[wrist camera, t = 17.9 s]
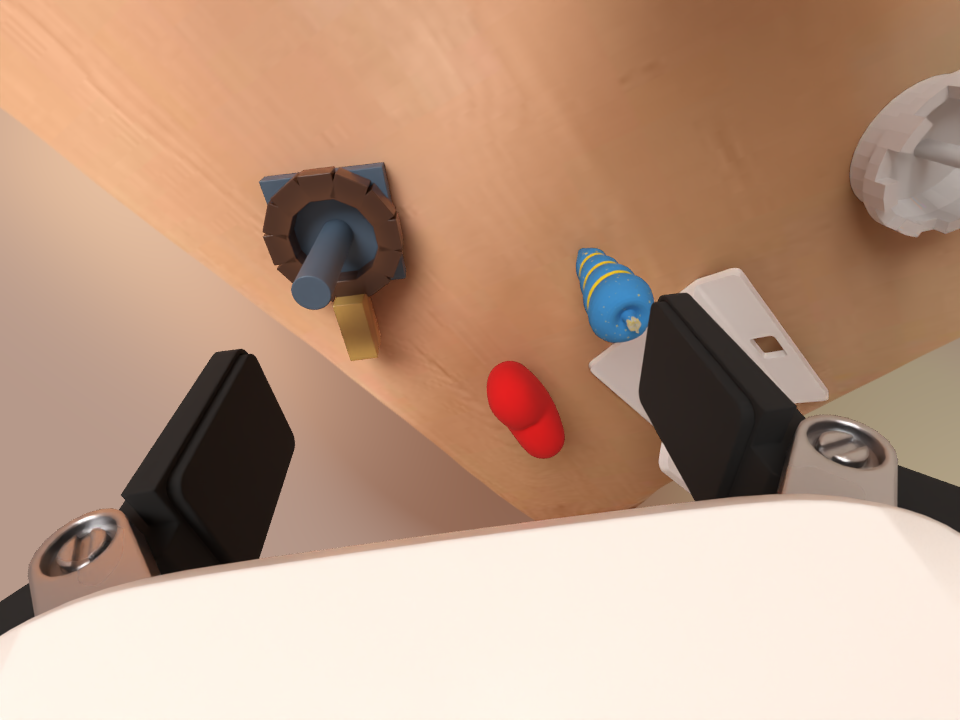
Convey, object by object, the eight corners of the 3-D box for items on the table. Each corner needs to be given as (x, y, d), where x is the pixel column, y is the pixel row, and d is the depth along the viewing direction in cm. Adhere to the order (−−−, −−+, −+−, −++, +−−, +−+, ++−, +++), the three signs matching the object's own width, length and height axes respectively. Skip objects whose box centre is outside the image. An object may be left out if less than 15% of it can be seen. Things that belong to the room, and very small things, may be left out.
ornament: (560, 280, 46) (607, 371, 34) (549, 234, 43) (595, 315, 31) (611, 264, 46) (676, 350, 33) (603, 215, 43) (671, 291, 30)
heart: (559, 392, 55) (581, 455, 47) (520, 412, 56) (535, 477, 48) (511, 325, 49) (527, 384, 41) (468, 349, 50) (476, 411, 42)
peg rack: (263, 176, 38) (203, 231, 28) (383, 161, 38) (366, 211, 28) (303, 284, 44) (265, 361, 34) (406, 271, 44) (399, 344, 34)
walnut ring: (249, 176, 37) (234, 189, 34) (387, 159, 37) (383, 171, 34) (314, 345, 46) (306, 367, 43) (422, 331, 46) (421, 352, 44)
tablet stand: (693, 458, 64) (764, 575, 51) (585, 365, 53) (639, 484, 39) (818, 381, 58) (939, 492, 44) (726, 255, 46) (851, 353, 32)
